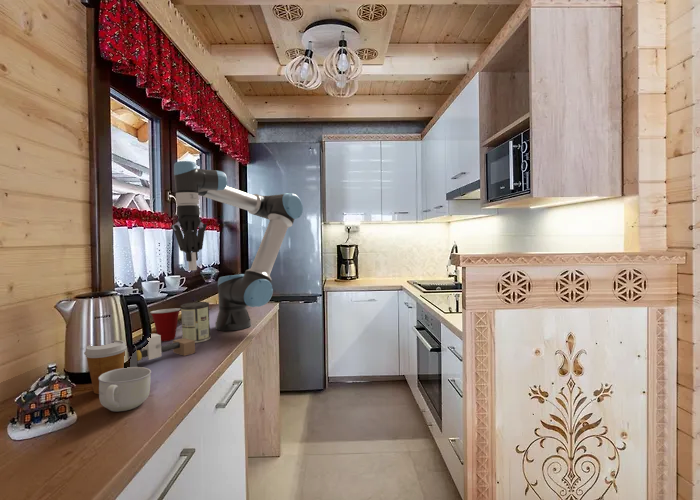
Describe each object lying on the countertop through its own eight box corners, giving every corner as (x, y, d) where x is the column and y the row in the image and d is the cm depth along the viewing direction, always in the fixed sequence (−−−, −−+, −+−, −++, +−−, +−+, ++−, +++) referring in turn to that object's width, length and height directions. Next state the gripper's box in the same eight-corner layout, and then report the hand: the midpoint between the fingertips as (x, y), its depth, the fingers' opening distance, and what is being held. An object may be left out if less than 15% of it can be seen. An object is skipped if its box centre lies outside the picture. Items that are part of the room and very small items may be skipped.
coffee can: (190, 336, 154) (189, 301, 154) (215, 336, 153) (213, 301, 153) (176, 343, 144) (175, 306, 144) (202, 343, 143) (201, 306, 143)
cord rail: (184, 349, 136) (183, 330, 135) (195, 352, 131) (194, 332, 131) (117, 367, 118) (116, 345, 118) (127, 372, 114) (126, 349, 114)
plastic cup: (180, 334, 158) (178, 305, 157) (183, 340, 149) (182, 309, 148) (150, 338, 152) (149, 308, 152) (152, 344, 143) (151, 313, 143)
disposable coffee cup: (109, 381, 107) (107, 339, 106) (137, 383, 104) (134, 340, 104) (77, 395, 98) (74, 349, 97) (106, 398, 95) (104, 351, 95)
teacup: (119, 396, 96) (117, 365, 96) (161, 396, 96) (159, 364, 95) (78, 423, 82) (76, 387, 82) (127, 423, 82) (125, 386, 82)
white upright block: (154, 354, 126) (153, 333, 126) (161, 356, 123) (160, 335, 123) (142, 357, 123) (141, 336, 122) (149, 359, 120) (148, 338, 120)
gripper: (176, 204, 129) (182, 272, 131) (210, 204, 140) (214, 268, 142) (164, 205, 134) (170, 272, 135) (198, 206, 144) (202, 267, 146)
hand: (192, 270), depth 139 cm, fingers closed
